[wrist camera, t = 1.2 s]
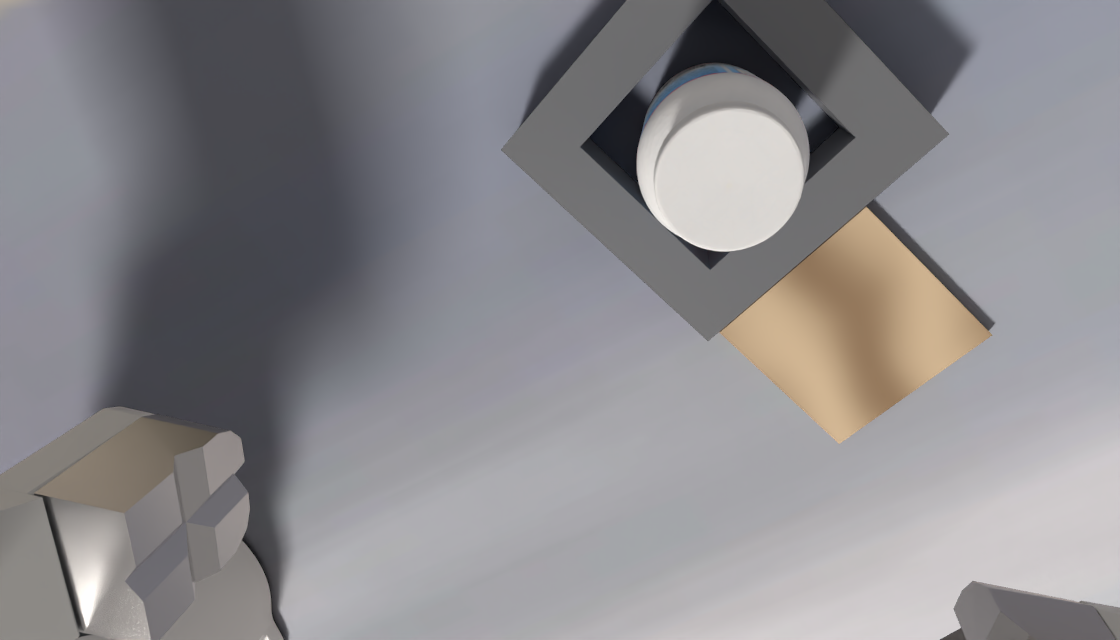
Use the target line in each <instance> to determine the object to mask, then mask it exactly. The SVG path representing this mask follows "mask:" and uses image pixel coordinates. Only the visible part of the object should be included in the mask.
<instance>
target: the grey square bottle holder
mask: <svg viewBox="0 0 1120 640" xmlns="http://www.w3.org/2000/svg"><path fill="white" fill-rule="evenodd" d="M711 1H712V0H626V1H625V3H624V4H623V5H622V6H621V7H620V9H619V10H618V11H617V12H616V13H615V15H614V16H613V17H612V18H611V19H610V20H609V22H608V23H607V24H606V25H605V26H604V28H603V29H602V30H601V31H600V32H599V34H598V35H597V36H596V37H595V38H594V39H593V41H592V42H591V43H590V44H589V45H588V47H587V48H586V49H585V50H584V51H583V53H582V54H581V55H580V56H579V57H578V58H577V60H576V61H575V62H574V63H573V64H572V66H571V67H570V68H569V69H568V70H567V72H566V73H565V74H564V75H563V76H562V78H561V79H560V80H559V81H558V82H557V83H556V85H555V86H554V87H553V88H552V89H551V91H550V92H549V93H548V94H547V95H546V97H545V98H544V99H543V100H542V101H541V102H540V104H539V105H538V106H537V107H536V108H535V110H534V111H533V112H532V113H531V114H530V116H529V117H528V118H527V119H526V120H525V121H524V123H523V124H522V125H521V126H520V127H519V129H518V130H517V131H516V132H515V133H514V135H513V136H512V137H511V138H510V139H509V141H508V142H507V143H506V144H505V145H504V146H503V148H502V149H501V150H502V151H503V152H504V153H505V154H506V155H507V156H508V157H509V158H510V159H511V160H512V161H513V162H515V163H516V164H517V165H518V166H519V167H520V168H521V169H522V170H523V171H524V172H525V173H526V174H528V175H529V176H530V177H531V178H532V179H533V180H534V181H535V182H536V183H537V184H538V185H539V186H541V187H542V188H543V189H544V190H545V191H546V192H547V193H548V194H549V195H550V196H551V197H552V198H554V199H555V200H556V201H557V202H558V203H559V204H560V205H561V206H562V207H563V208H564V209H565V210H567V211H568V212H569V213H570V214H571V215H572V216H573V217H574V218H575V219H576V220H577V221H578V222H580V223H581V224H582V225H583V226H584V227H585V228H586V229H587V230H588V231H589V232H590V233H591V234H592V235H594V236H595V237H596V238H597V239H598V240H599V241H600V242H601V243H602V244H603V245H604V246H605V247H607V248H608V249H609V250H610V251H611V252H612V253H613V254H614V255H615V256H616V257H617V258H618V259H620V260H621V261H622V262H623V263H624V264H625V265H626V266H627V267H628V268H629V269H630V270H631V271H633V272H634V273H635V274H636V275H637V276H638V277H639V278H640V279H641V280H642V281H643V282H644V283H646V284H647V285H648V286H649V287H650V288H651V289H652V290H653V291H654V292H655V293H656V294H657V295H659V296H660V297H661V298H662V299H663V300H664V301H665V302H666V303H667V304H668V305H669V306H670V307H672V308H673V309H674V310H675V311H676V312H677V313H678V314H679V315H680V316H681V317H682V318H683V319H685V320H686V321H687V322H688V323H689V324H690V325H691V326H692V327H693V328H694V329H695V330H696V331H698V332H699V333H700V334H701V335H702V336H703V337H704V338H705V339H706V340H707V341H709V340H710V339H711V338H712V337H714V336H715V335H716V334H717V333H718V332H719V331H721V330H722V329H723V328H724V327H725V326H726V325H728V324H729V323H730V322H731V321H732V320H733V319H735V318H736V317H737V316H738V315H739V314H740V313H742V312H743V311H744V310H745V309H746V308H747V307H749V306H750V305H751V304H752V303H753V302H754V301H756V300H757V299H758V298H759V297H760V296H761V295H763V294H764V293H765V292H766V291H767V290H768V289H770V288H771V287H772V286H773V285H774V284H775V283H777V282H778V281H779V280H780V279H781V278H782V277H784V276H785V275H786V274H787V273H788V272H789V271H791V270H792V269H793V268H794V267H795V266H796V265H798V264H799V263H800V262H801V261H802V260H803V259H804V258H806V257H807V256H808V255H809V254H810V253H811V252H813V251H814V250H815V249H816V248H817V247H818V246H820V245H821V244H822V243H823V242H824V241H825V240H827V239H828V238H829V237H830V236H831V235H832V234H834V233H835V232H836V231H837V230H838V229H839V228H841V227H842V226H843V225H844V224H845V223H846V222H848V221H849V220H850V219H851V218H852V217H853V216H855V215H856V214H857V213H858V212H859V211H860V210H862V209H863V208H864V207H865V206H866V205H867V204H869V203H870V202H871V201H872V200H873V199H874V198H876V197H877V196H878V195H879V194H880V193H881V192H883V191H884V190H885V189H886V188H887V187H888V186H890V185H891V184H892V183H893V182H894V181H895V180H897V179H898V178H899V177H900V176H901V175H902V174H904V173H905V172H906V171H907V170H908V169H909V168H911V167H912V166H913V165H914V164H915V163H916V162H918V161H919V160H920V159H921V158H922V157H923V156H924V155H926V154H927V153H928V152H929V151H930V150H931V149H933V148H934V147H935V146H936V145H937V144H938V143H940V142H941V141H942V140H943V139H944V138H945V137H947V136H948V135H949V133H948V132H947V131H946V130H945V129H944V128H943V127H942V126H941V125H940V124H939V123H938V122H937V121H936V119H935V118H934V117H933V116H932V115H931V114H930V113H929V112H928V111H927V110H926V109H925V108H924V107H923V106H922V104H921V103H920V102H919V101H918V100H917V99H916V98H915V97H914V96H913V95H912V94H911V93H910V92H909V90H908V89H907V88H906V87H905V86H904V85H903V84H902V83H901V82H900V81H899V80H898V79H897V78H896V76H895V75H894V74H893V73H892V72H891V71H890V70H889V69H888V68H887V67H886V66H885V65H884V64H883V63H882V61H881V60H880V59H879V58H878V57H877V56H876V55H875V54H874V53H873V52H872V51H871V50H870V49H869V47H868V46H867V45H866V44H865V43H864V42H863V41H862V40H861V39H860V38H859V37H858V36H857V35H856V33H855V32H854V31H853V30H852V29H851V28H850V27H849V26H848V25H847V24H846V23H845V22H844V21H843V19H842V18H841V17H840V16H839V15H838V14H837V13H836V12H835V11H834V10H833V9H832V8H831V7H830V6H829V4H828V3H827V2H826V1H825V0H717V1H718V2H719V3H720V4H721V5H722V6H723V7H724V8H725V9H726V10H727V11H728V12H729V13H730V14H731V15H732V16H733V17H734V18H735V19H736V20H737V21H738V22H739V23H740V24H741V25H742V27H743V28H744V29H745V30H746V31H747V32H748V33H749V34H750V35H751V36H752V37H753V38H754V39H755V40H756V41H757V42H758V43H759V44H760V45H761V46H762V47H763V48H764V49H765V50H766V51H767V52H768V54H769V55H770V56H771V57H772V58H773V59H774V60H775V61H776V62H777V63H778V64H779V65H780V66H781V67H782V68H783V69H784V70H785V71H786V72H787V73H788V74H789V75H790V76H791V77H792V78H793V79H794V80H795V82H796V83H797V84H798V85H799V86H800V87H801V88H802V89H803V90H804V91H805V92H806V93H807V94H808V95H809V96H810V97H811V98H812V99H813V100H814V101H815V102H816V103H817V104H818V105H819V106H820V107H821V108H822V110H823V111H824V112H825V113H826V114H827V115H828V116H829V117H830V118H831V119H832V120H833V121H834V122H835V123H836V124H837V125H838V126H839V127H840V128H839V129H837V130H836V131H835V132H834V133H833V134H832V135H831V136H830V137H829V138H828V139H827V140H826V141H825V142H823V143H822V144H821V145H820V146H819V147H818V148H817V149H816V150H815V151H814V152H813V153H812V154H811V155H809V167H808V173H807V177H806V180H805V183H804V186H803V191H802V194H801V198H800V200H799V203H798V205H797V207H796V209H795V211H794V212H793V214H792V216H791V217H790V218H789V220H788V221H787V222H786V223H785V224H784V226H783V227H782V228H780V229H779V231H777V232H776V233H775V234H774V235H772V236H771V237H769V238H768V239H766V240H765V241H763V242H761V243H759V244H757V245H754V246H752V247H748V248H746V249H741V250H736V251H727V252H725V251H713V250H706V249H703V248H700V247H697V246H695V245H693V244H691V243H689V242H687V241H685V240H684V239H683V238H681V237H680V236H678V235H676V234H674V233H673V232H671V231H670V230H668V229H667V228H666V227H665V226H663V225H662V224H661V223H660V222H659V221H658V220H657V219H656V217H655V216H654V215H653V214H652V212H651V211H650V209H649V208H648V206H647V204H646V202H645V200H644V198H643V196H642V193H641V190H640V186H639V185H638V184H637V183H636V182H635V181H634V180H633V179H632V178H631V177H630V176H629V175H628V174H627V173H626V172H625V171H623V170H622V169H621V168H620V167H619V166H618V165H617V164H616V163H615V162H614V161H613V160H612V159H611V158H610V157H609V156H608V155H607V154H606V153H605V152H604V151H602V150H601V149H600V148H599V147H598V146H597V145H596V144H595V143H594V142H593V141H592V140H591V139H590V138H589V137H590V135H591V134H592V133H593V132H594V131H595V130H596V129H597V128H598V127H599V125H600V124H601V123H602V122H603V121H604V120H605V119H606V118H607V117H608V115H609V114H610V113H611V112H612V111H613V110H614V109H615V108H616V107H617V105H618V104H619V103H620V102H621V101H622V100H623V99H624V98H625V97H626V95H627V94H628V93H629V92H630V91H631V90H632V89H633V88H634V87H635V85H636V84H637V83H638V82H639V81H640V80H641V79H642V78H643V76H644V75H645V74H646V73H647V72H648V71H649V70H650V69H651V68H652V66H653V65H654V64H655V63H656V62H657V61H658V60H659V59H660V58H661V56H662V55H663V54H664V53H665V52H666V51H667V50H668V49H669V48H670V46H671V45H672V44H673V43H674V42H675V41H676V40H677V39H678V38H679V36H680V35H681V34H682V33H683V32H684V31H685V30H686V29H687V28H688V26H689V25H690V24H691V23H692V22H693V21H694V20H695V19H696V18H697V16H698V15H699V14H700V13H701V12H702V11H703V10H704V9H705V8H706V6H707V5H708V4H709V3H710V2H711Z"/></svg>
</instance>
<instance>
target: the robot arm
mask: <svg viewBox="0 0 1120 640" xmlns="http://www.w3.org/2000/svg"><path fill="white" fill-rule="evenodd" d="M244 462H245V460H244V454H243V447H242V441H241V438H240V437H239V436H237V435H236V434H235V433H233V432H232V431H230V430H226V429H221V428H217V427H212V426H208V425H204V424H199V423H195V422H190V421H186V420H182V419H177V418H173V417H168V416H164V415H160V414H152V413H148V412H144V411H139V410H135V409H130V408H126V407H121V406H119V407H111V408H103V409H102V410H100V411H99V412H97V413H96V414H94V415H93V416H91V417H89V418H88V419H86V420H85V421H83V422H82V423H80V424H79V425H77V426H75V427H74V428H72V429H71V430H69V431H68V432H66V433H65V434H63V435H61V436H60V437H58V438H57V439H55V440H54V441H52V442H51V443H49V444H47V445H46V446H44V447H43V448H41V449H40V450H38V451H37V452H35V453H33V454H32V455H30V456H29V457H27V458H26V459H24V460H23V461H21V462H19V463H18V464H16V465H15V466H13V467H12V468H10V469H9V470H7V471H5V472H4V473H2V474H1V475H0V640H283V637H282V635H281V633H280V631H279V629H278V628H277V626H276V624H275V622H274V620H273V617H272V611H271V595H270V589H269V585H268V582H267V579H266V576H265V574H264V572H263V569H262V567H261V566H260V564H259V562H258V560H257V559H256V557H255V556H254V554H253V553H252V552H251V550H250V549H249V548H248V547H247V545H246V544H245V543H244V542H243V541H242V538H243V536H244V534H245V532H246V530H247V525H248V519H249V512H250V504H249V494H248V491H247V490H246V488H245V487H244V486H243V484H242V483H241V482H240V480H239V479H238V478H237V477H236V475H235V473H236V472H237V471H238V469H239V468H240V467H241V466H242V464H243V463H244ZM954 611H955V614H956V616H957V618H958V621H959V623H960V626H961V628H960V629H958V630H957V631H955V632H953V633H951V634H949V635H947V636H946V637H944V638H942V639H940V640H1120V608H1118V607H1113V606H1107V605H1102V604H1096V603H1091V602H1085V601H1080V602H1076V601H1072V600H1067V599H1062V598H1057V597H1052V596H1047V595H1042V594H1037V593H1032V592H1027V591H1022V590H1016V589H1011V588H1006V587H1001V586H996V585H991V584H986V583H981V582H976V581H972V582H971V583H970V584H969V585H968V586H967V587H966V588H964V589H963V590H962V592H961V594H960V596H959V598H958V600H957V602H956V605H955V607H954Z"/></svg>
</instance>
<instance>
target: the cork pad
mask: <svg viewBox="0 0 1120 640" xmlns="http://www.w3.org/2000/svg"><path fill="white" fill-rule="evenodd" d="M720 333H721V334H722V335H723V336H724V337H725V338H726V339H727V340H728V341H729V342H730V343H731V344H732V345H733V346H735V347H736V348H737V349H738V350H739V351H740V352H741V353H742V354H743V355H744V356H745V357H746V358H747V359H749V360H750V361H751V362H752V363H753V364H754V365H755V366H756V367H757V368H758V369H759V370H760V371H761V372H763V373H764V374H765V375H766V376H767V377H768V378H769V379H770V380H771V381H772V382H773V383H774V384H775V385H777V386H778V387H779V388H780V389H781V390H782V391H783V392H784V393H785V394H786V395H787V396H788V397H789V398H790V399H792V400H793V401H794V402H795V403H796V404H797V405H798V406H799V407H800V408H801V409H802V410H803V411H804V412H806V413H807V414H808V415H809V416H810V417H811V418H812V419H813V420H814V421H815V422H816V423H817V424H818V425H820V426H821V427H822V428H823V429H824V430H825V431H826V432H827V433H828V434H829V435H830V436H831V437H832V438H834V439H835V440H836V441H837V442H838V443H839V444H840V443H841V442H843V441H844V440H845V439H847V438H848V437H850V436H851V435H852V434H854V433H855V432H857V431H858V430H859V429H861V428H862V427H864V426H865V425H866V424H868V423H869V422H871V421H872V420H874V419H875V418H876V417H878V416H879V415H881V414H882V413H883V412H885V411H886V410H888V409H889V408H890V407H892V406H893V405H895V404H896V403H897V402H899V401H900V400H902V399H903V398H904V397H906V396H907V395H909V394H910V393H912V392H913V391H914V390H916V389H917V388H919V387H920V386H921V385H923V384H924V383H926V382H927V381H928V380H930V379H931V378H933V377H934V376H935V375H937V374H938V373H940V372H941V371H942V370H944V369H945V368H947V367H948V366H950V365H951V364H952V363H954V362H955V361H957V360H958V359H959V358H961V357H962V356H964V355H965V354H966V353H968V352H969V351H971V350H972V349H973V348H975V347H976V346H978V345H979V344H980V343H982V342H983V341H985V340H986V339H988V338H989V337H990V336H992V334H991V333H990V332H989V331H988V330H987V329H986V328H985V327H984V326H983V325H982V324H981V323H980V322H979V321H978V320H977V319H976V318H975V317H974V316H973V315H972V314H971V313H970V312H969V311H968V310H967V309H966V308H965V307H964V306H963V305H962V304H961V303H960V302H959V301H958V300H957V299H956V298H955V297H954V296H953V295H952V293H951V292H950V291H949V290H948V289H947V288H946V287H945V286H944V285H943V284H942V283H941V282H940V281H939V280H938V279H937V278H936V277H935V276H934V275H933V274H932V273H931V272H930V271H929V270H928V269H927V268H926V267H925V266H924V265H923V264H922V263H921V262H920V261H919V260H918V259H917V258H916V257H915V256H914V255H913V254H912V253H911V252H910V251H909V250H908V249H907V248H906V247H905V246H904V245H903V244H902V242H901V241H900V240H899V239H898V238H897V237H896V236H895V235H894V234H893V233H892V232H891V231H890V230H889V229H888V228H887V227H886V226H885V225H884V224H883V223H882V222H881V221H880V220H879V219H878V218H877V217H876V216H875V215H874V214H873V213H872V212H871V211H870V210H869V209H868V208H867V207H866V206H865V207H864V208H863V209H862V210H860V211H859V212H858V213H857V214H856V215H855V216H853V217H852V218H851V219H850V220H849V221H848V222H846V223H845V224H844V225H843V226H842V227H841V228H839V229H838V230H837V231H836V232H835V233H834V234H832V235H831V236H830V237H829V238H828V239H827V240H825V241H824V242H823V243H822V244H821V245H820V246H818V247H817V248H816V249H815V250H814V251H813V252H811V253H810V254H809V255H808V256H807V257H806V258H804V259H803V260H802V261H801V262H800V263H799V264H798V265H796V266H795V267H794V268H793V269H792V270H791V271H789V272H788V273H787V274H786V275H785V276H784V277H782V278H781V279H780V280H779V281H778V282H777V283H775V284H774V285H773V286H772V287H771V288H770V289H768V290H767V291H766V292H765V293H764V294H763V295H761V296H760V297H759V298H758V299H757V300H756V301H754V302H753V303H752V304H751V305H750V306H749V307H747V308H746V309H745V310H744V311H743V312H742V313H740V314H739V315H738V316H737V317H736V318H735V319H733V320H732V321H731V322H730V323H729V324H728V325H726V326H725V327H724V328H723V329H722V330H721V331H720Z"/></svg>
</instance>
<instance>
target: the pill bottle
mask: <svg viewBox="0 0 1120 640" xmlns="http://www.w3.org/2000/svg"><path fill="white" fill-rule="evenodd" d="M809 155H810V154H809V142H808V136H807V131H806V128H805V126H804V123H803V121H802V119H801V117H800V115H799V113H798V111H797V110H796V108H795V107H794V105H793V104H792V103H791V102H790V101H789V100H788V98H787V97H786V96H785V95H783V94H782V93H781V92H780V91H779V90H778V89H776V88H775V87H774V86H772V85H771V84H769V83H767V82H766V81H764V80H762V79H760V78H759V77H757V76H755V75H754V74H752V73H750V72H749V71H747V70H745V69H743V68H740V67H737V66H734V65H731V64H725V63H704V64H699V65H696V66H693V67H690V68H687V69H685V70H683V71H681V72H680V73H678V74H676V75H675V76H673V77H672V78H671V79H670V80H668V81H667V82H666V83H665V84H664V85H663V86H662V87H661V89H660V90H659V91H658V92H657V94H656V95H655V97H654V98H653V100H652V102H651V104H650V106H649V108H648V110H647V113H646V117H645V121H644V125H643V129H642V133H641V137H640V141H639V145H638V150H637V176H638V182H639V186H640V190H641V193H642V196H643V198H644V200H645V202H646V204H647V206H648V208H649V209H650V211H651V212H652V214H653V215H654V216H655V217H656V219H657V220H658V221H659V222H660V223H661V224H662V225H663V226H665V227H666V228H667V229H668V230H670V231H671V232H673V233H674V234H676V235H678V236H680V237H681V238H683V239H684V240H685V241H687V242H689V243H691V244H693V245H695V246H697V247H700V248H703V249H707V250H713V251H725V252H727V251H736V250H741V249H746V248H748V247H752V246H754V245H757V244H759V243H761V242H763V241H765V240H766V239H768V238H769V237H771V236H772V235H774V234H775V233H776V232H777V231H779V229H780V228H782V227H783V226H784V224H785V223H786V222H787V221H788V220H789V218H790V217H791V216H792V214H793V212H794V211H795V209H796V207H797V205H798V203H799V200H800V198H801V194H802V191H803V186H804V183H805V180H806V177H807V173H808V167H809Z"/></svg>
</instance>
